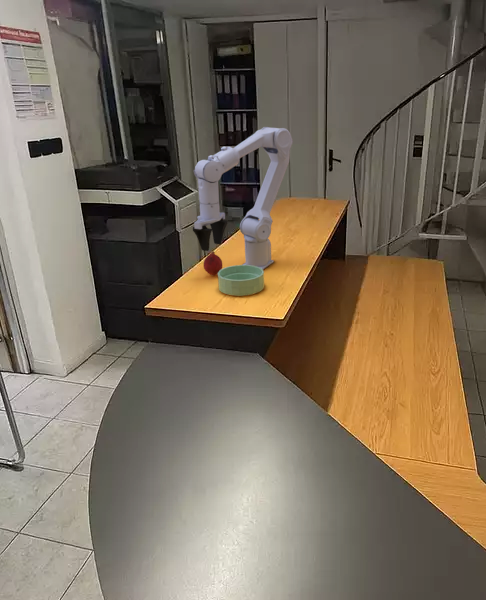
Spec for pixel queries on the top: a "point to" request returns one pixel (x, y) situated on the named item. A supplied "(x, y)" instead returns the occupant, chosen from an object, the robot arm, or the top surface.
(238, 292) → the bowl
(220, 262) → the onion
